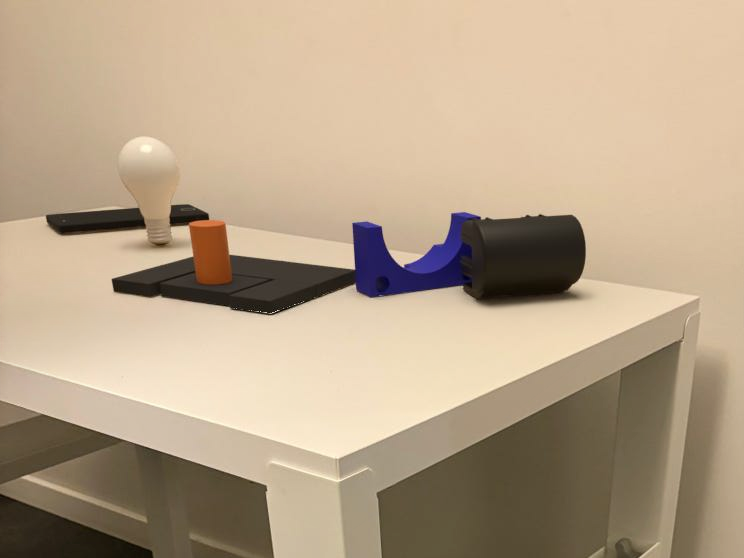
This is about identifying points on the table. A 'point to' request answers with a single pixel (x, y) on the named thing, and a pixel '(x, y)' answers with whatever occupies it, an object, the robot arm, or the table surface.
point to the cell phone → (118, 218)
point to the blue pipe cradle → (429, 272)
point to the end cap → (522, 255)
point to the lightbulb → (151, 183)
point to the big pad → (280, 292)
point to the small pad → (205, 290)
